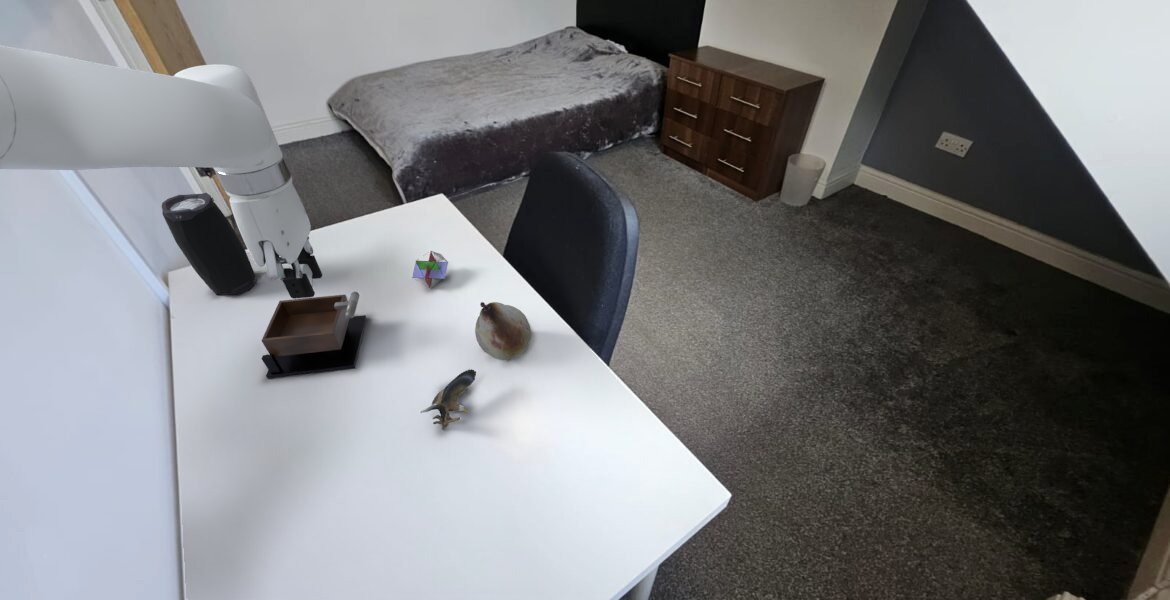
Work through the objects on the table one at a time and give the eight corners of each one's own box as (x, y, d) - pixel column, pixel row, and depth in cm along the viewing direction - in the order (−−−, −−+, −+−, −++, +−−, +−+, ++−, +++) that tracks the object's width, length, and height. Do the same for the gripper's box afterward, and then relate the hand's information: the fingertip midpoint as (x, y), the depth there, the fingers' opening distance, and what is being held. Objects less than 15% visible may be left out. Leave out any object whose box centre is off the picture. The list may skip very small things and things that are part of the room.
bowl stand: (267, 379, 79) (255, 360, 76) (289, 326, 89) (279, 308, 86) (355, 368, 81) (347, 350, 78) (367, 318, 91) (360, 300, 88)
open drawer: (271, 357, 78) (255, 331, 74) (288, 317, 86) (274, 291, 82) (361, 347, 81) (350, 321, 76) (370, 308, 88) (360, 283, 84)
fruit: (468, 345, 86) (458, 295, 78) (511, 322, 91) (505, 273, 83) (500, 378, 81) (492, 328, 73) (543, 352, 85) (541, 302, 78)
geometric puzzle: (441, 290, 95) (441, 250, 94) (407, 289, 95) (407, 249, 94) (451, 288, 102) (452, 251, 101) (419, 287, 102) (420, 250, 101)
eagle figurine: (478, 429, 72) (488, 376, 77) (444, 410, 67) (457, 356, 73) (442, 437, 75) (454, 387, 81) (408, 420, 70) (423, 368, 76)
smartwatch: (302, 281, 72) (292, 260, 70) (318, 279, 73) (308, 258, 70) (299, 296, 70) (288, 275, 67) (315, 293, 70) (305, 272, 68)
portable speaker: (265, 270, 101) (221, 187, 89) (250, 298, 95) (200, 213, 82) (221, 273, 100) (171, 190, 87) (203, 302, 93) (145, 216, 80)
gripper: (246, 149, 65) (296, 257, 77) (192, 210, 52) (262, 327, 64) (305, 146, 66) (345, 253, 78) (265, 205, 53) (320, 322, 65)
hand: (307, 286), depth 71 cm, fingers closed on smartwatch, 3 cm apart
